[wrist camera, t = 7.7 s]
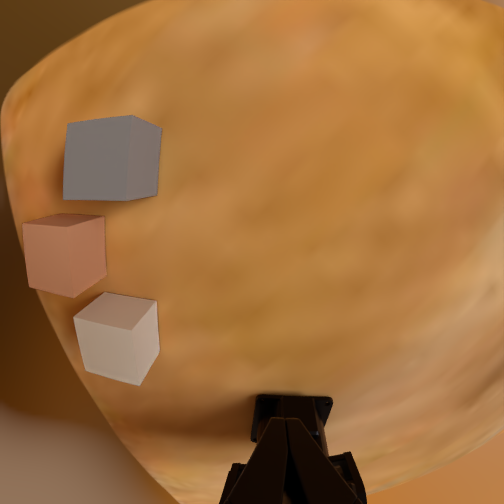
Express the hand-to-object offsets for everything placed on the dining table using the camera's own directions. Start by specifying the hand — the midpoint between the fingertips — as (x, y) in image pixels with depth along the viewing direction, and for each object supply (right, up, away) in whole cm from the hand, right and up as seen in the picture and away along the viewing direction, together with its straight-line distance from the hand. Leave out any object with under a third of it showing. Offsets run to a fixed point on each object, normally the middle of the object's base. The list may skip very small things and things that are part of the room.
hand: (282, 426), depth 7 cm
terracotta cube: (-14, +6, +12) cm, 19 cm away
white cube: (-10, 0, +13) cm, 17 cm away
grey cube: (-9, +11, +10) cm, 18 cm away
